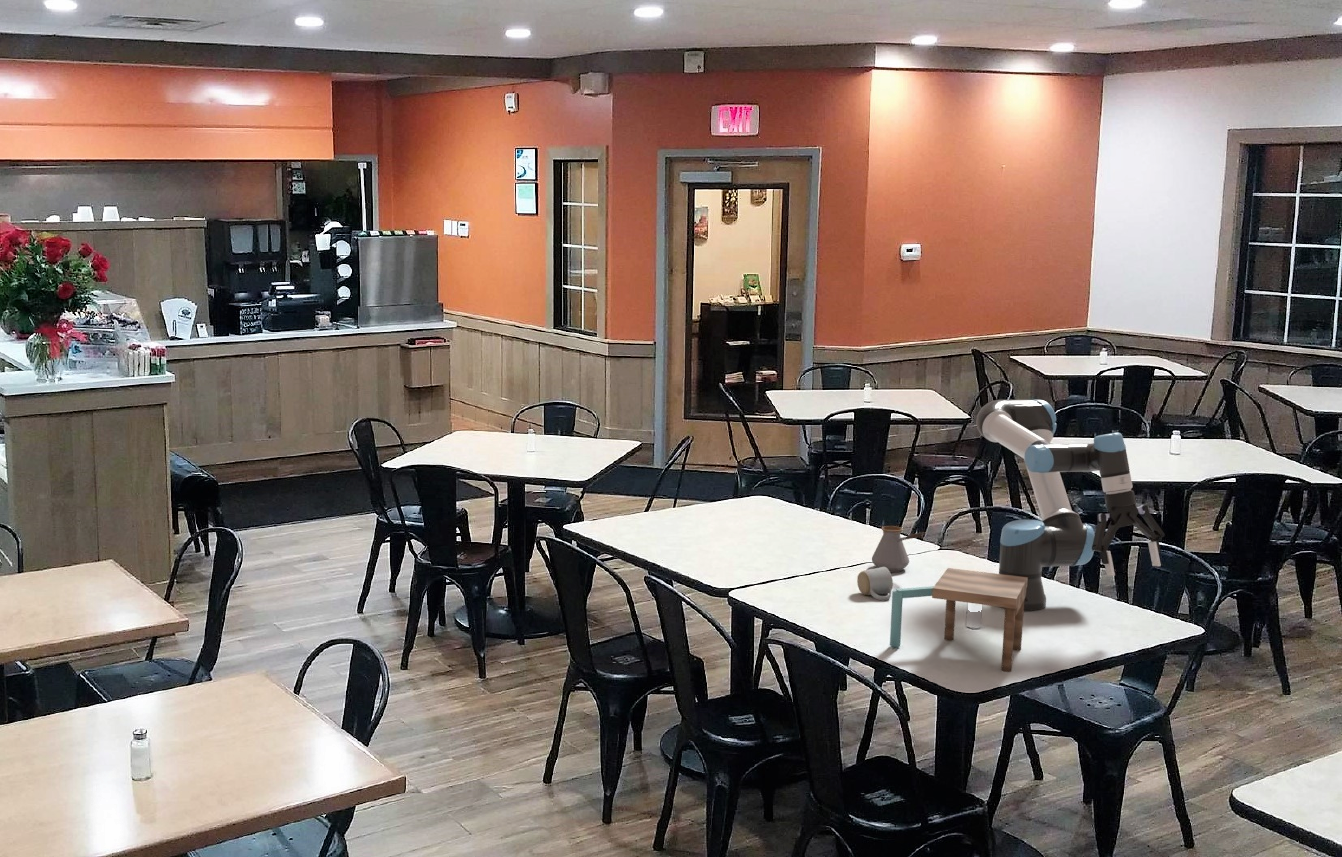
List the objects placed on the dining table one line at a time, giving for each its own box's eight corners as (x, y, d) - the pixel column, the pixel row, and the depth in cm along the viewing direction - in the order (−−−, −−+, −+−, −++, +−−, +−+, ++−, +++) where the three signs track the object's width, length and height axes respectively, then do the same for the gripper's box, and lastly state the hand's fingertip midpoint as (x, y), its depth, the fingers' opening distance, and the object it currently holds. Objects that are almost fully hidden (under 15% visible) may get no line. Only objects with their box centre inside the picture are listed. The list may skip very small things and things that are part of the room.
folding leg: (944, 638, 334) (947, 582, 331) (949, 642, 331) (952, 585, 329) (888, 644, 329) (890, 587, 326) (892, 647, 326) (895, 589, 324)
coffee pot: (863, 566, 402) (865, 519, 400) (892, 562, 408) (894, 515, 406) (908, 584, 384) (911, 535, 382) (938, 579, 390) (940, 530, 387)
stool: (944, 636, 337) (947, 567, 334) (1022, 647, 330) (1027, 577, 326) (928, 660, 319) (932, 588, 316) (1011, 672, 311) (1016, 598, 308)
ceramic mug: (854, 591, 376) (856, 566, 374) (879, 589, 378) (881, 563, 377) (873, 602, 366) (874, 576, 364) (898, 600, 369) (899, 574, 367)
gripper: (1083, 499, 336) (1099, 580, 335) (1168, 482, 341) (1183, 562, 340) (1069, 500, 343) (1084, 579, 342) (1152, 483, 349) (1167, 561, 348)
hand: (1134, 571), depth 341 cm, fingers open, 13 cm apart
